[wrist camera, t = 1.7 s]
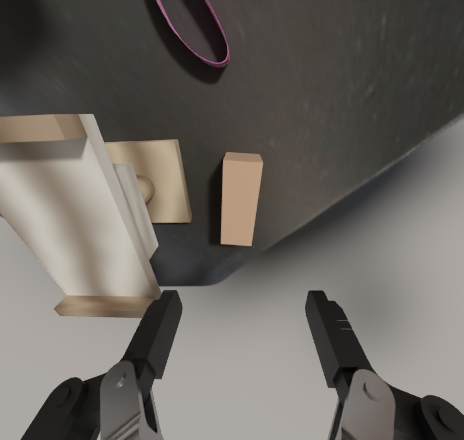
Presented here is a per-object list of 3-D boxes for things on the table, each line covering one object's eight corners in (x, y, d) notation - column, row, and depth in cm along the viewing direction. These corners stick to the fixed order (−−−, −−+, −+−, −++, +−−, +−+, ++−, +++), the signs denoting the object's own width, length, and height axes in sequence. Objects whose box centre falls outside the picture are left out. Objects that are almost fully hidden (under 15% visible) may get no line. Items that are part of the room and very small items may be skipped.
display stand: (129, 232, 32) (51, 315, 19) (81, 117, 23) (-134, 124, 10) (194, 232, 31) (160, 318, 18) (173, 113, 22) (72, 113, 9)
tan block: (223, 225, 31) (220, 243, 26) (226, 151, 24) (223, 160, 20) (250, 227, 30) (251, 246, 26) (259, 154, 24) (263, 162, 20)
